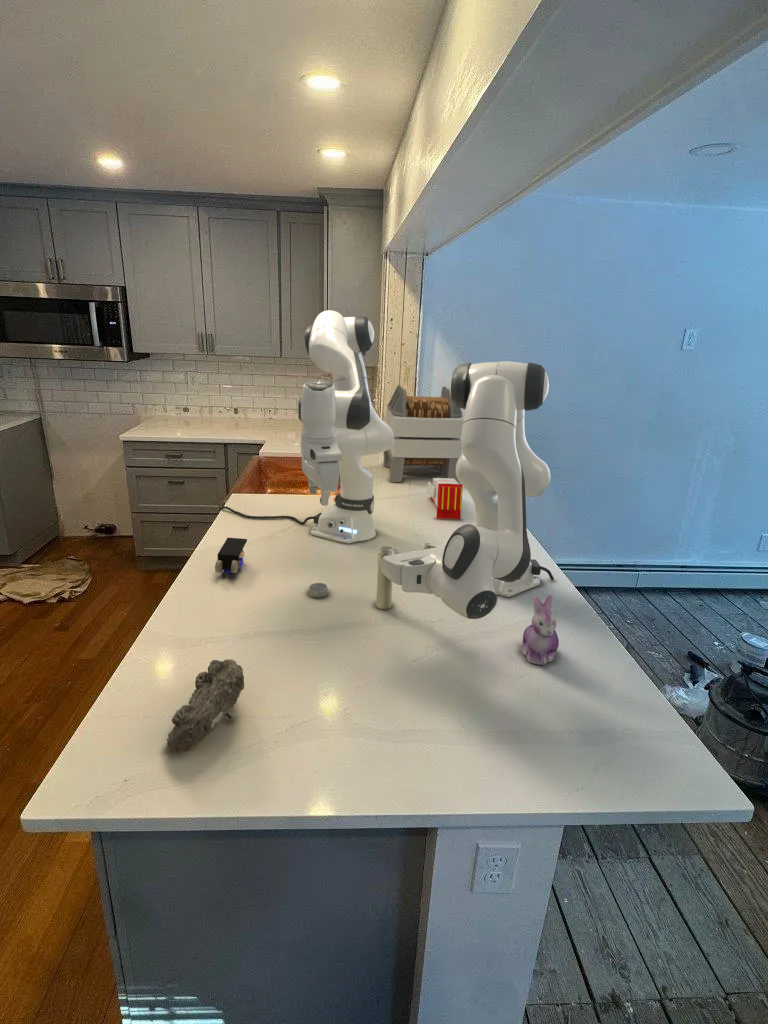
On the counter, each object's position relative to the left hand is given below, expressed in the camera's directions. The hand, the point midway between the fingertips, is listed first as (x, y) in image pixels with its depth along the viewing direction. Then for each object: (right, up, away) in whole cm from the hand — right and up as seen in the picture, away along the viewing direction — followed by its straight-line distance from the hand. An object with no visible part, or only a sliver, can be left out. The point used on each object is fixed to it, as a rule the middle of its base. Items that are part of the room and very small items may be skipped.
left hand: (318, 499), depth 147 cm
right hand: (+23, -12, -12) cm, 28 cm away
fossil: (-16, -42, -39) cm, 60 cm away
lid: (-1, -24, +9) cm, 26 cm away
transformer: (+34, +15, +128) cm, 134 cm away
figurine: (+53, -37, -14) cm, 66 cm away
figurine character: (-28, -20, +21) cm, 40 cm away
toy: (+41, -2, +82) cm, 92 cm away
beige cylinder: (+17, -28, +5) cm, 33 cm away
